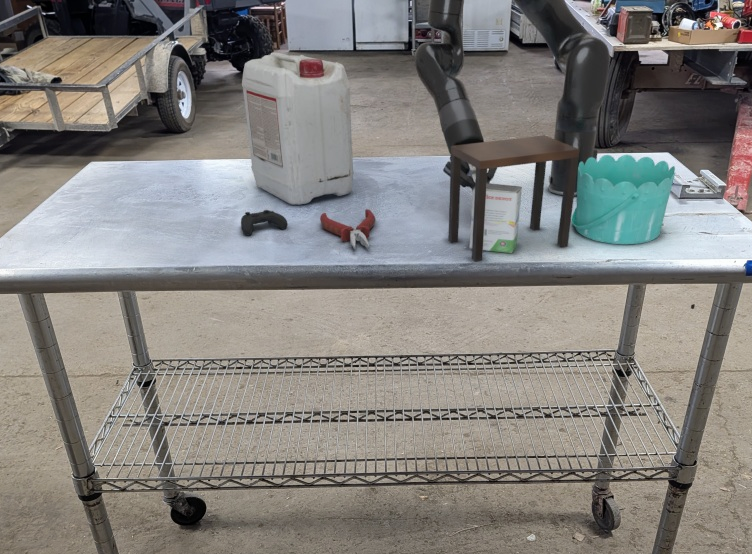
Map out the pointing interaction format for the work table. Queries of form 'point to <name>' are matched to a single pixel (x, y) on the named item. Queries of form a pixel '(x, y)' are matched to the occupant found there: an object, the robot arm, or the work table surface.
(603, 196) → the basket
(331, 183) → the jerry can
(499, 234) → the ink box
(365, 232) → the pliers
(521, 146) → the small table
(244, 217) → the gaming controller
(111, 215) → the work table surface
